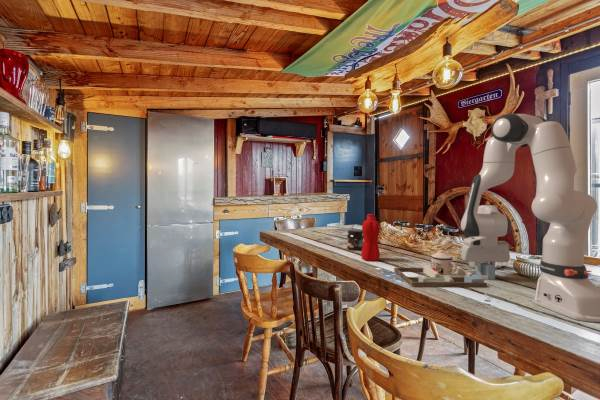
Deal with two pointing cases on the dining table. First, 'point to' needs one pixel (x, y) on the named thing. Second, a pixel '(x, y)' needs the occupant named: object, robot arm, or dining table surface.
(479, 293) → the dining table surface
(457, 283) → the lane rails
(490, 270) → the carriage
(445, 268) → the teacup with lid
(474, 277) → the broken carriage
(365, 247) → the water bottle
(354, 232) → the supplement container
